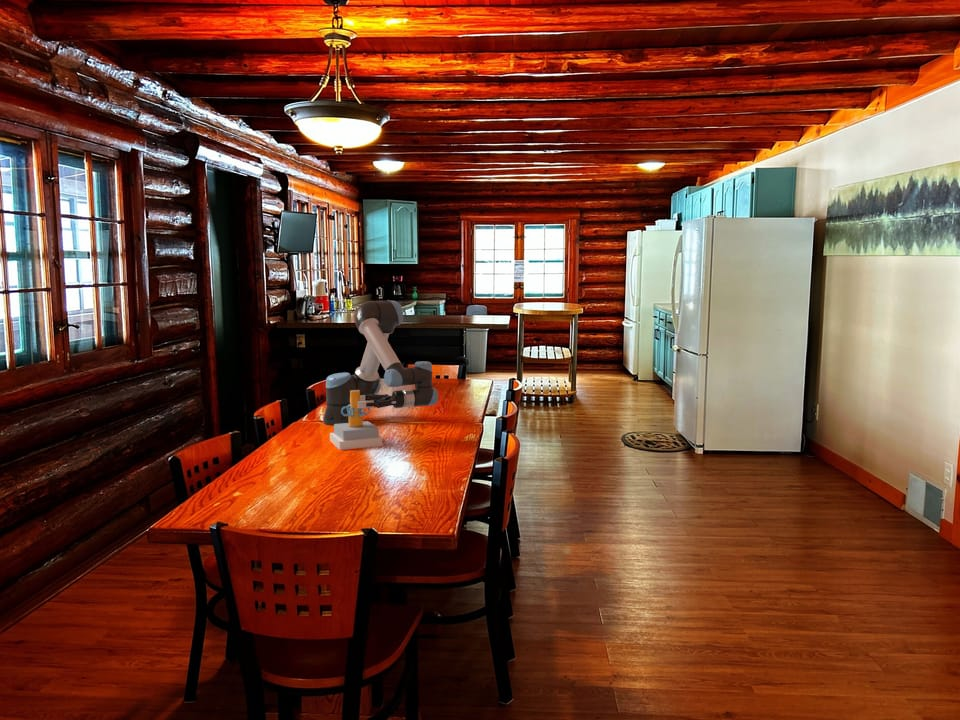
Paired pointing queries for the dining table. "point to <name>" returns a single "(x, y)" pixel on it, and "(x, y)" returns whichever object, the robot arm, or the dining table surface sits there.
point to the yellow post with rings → (354, 410)
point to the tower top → (356, 431)
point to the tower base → (355, 442)
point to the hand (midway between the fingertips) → (353, 402)
